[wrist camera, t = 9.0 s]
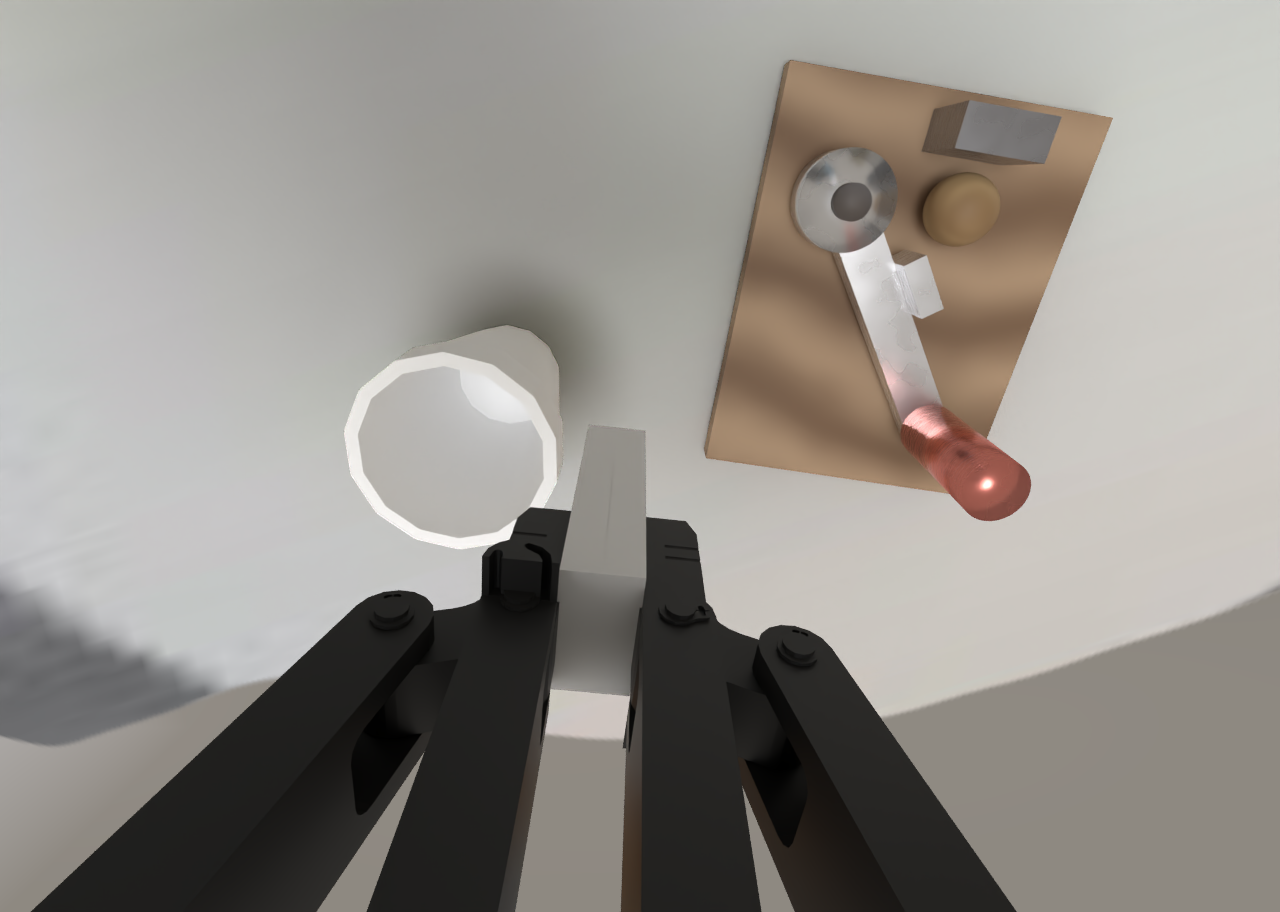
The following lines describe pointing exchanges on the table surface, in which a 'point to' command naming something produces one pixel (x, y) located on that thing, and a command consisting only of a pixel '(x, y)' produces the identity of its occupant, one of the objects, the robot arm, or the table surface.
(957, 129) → the two-tone textured tile
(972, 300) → the board
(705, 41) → the table surface
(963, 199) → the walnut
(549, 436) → the foam cup
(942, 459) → the lever
